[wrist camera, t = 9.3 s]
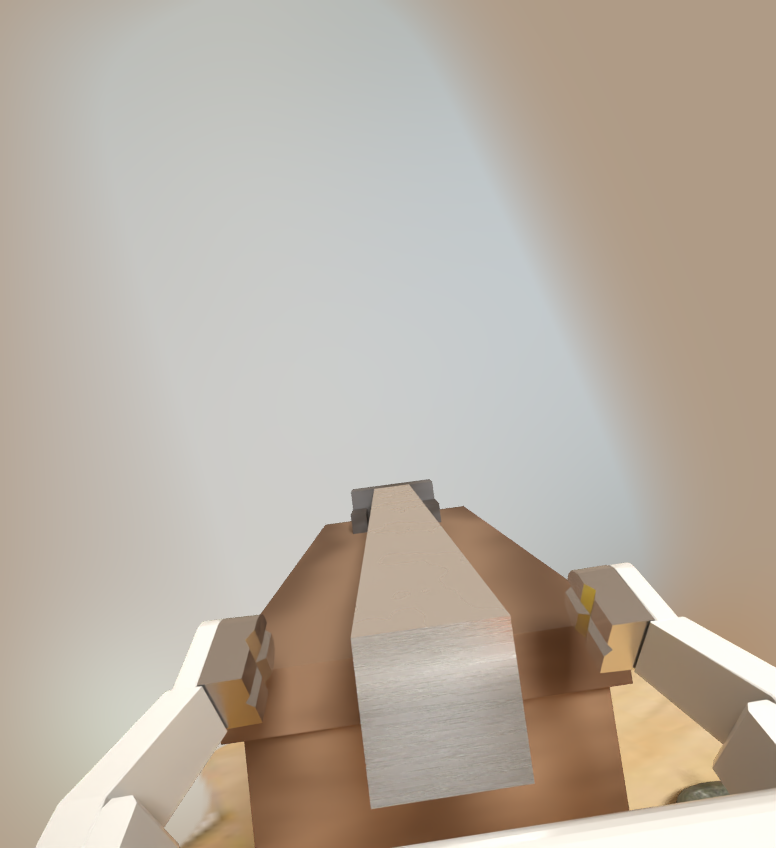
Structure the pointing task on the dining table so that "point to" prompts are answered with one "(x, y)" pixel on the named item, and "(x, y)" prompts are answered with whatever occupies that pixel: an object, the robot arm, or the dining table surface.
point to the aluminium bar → (432, 664)
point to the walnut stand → (340, 719)
